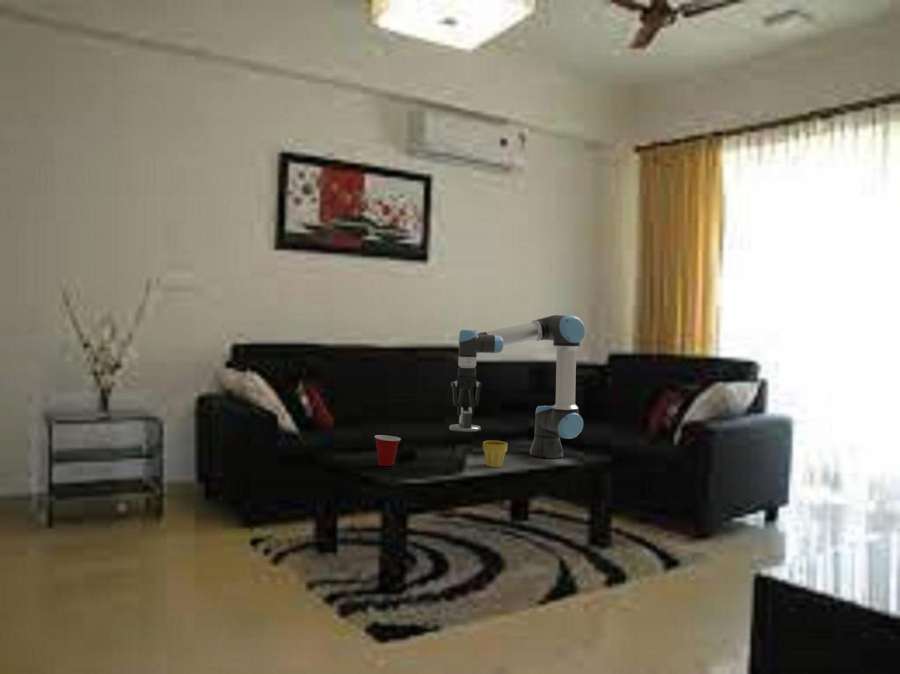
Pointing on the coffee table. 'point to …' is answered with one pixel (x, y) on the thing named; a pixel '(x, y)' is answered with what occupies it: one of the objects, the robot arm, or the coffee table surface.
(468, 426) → the steel lid
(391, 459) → the plastic cup
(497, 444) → the plant pot
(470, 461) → the coffee table surface
